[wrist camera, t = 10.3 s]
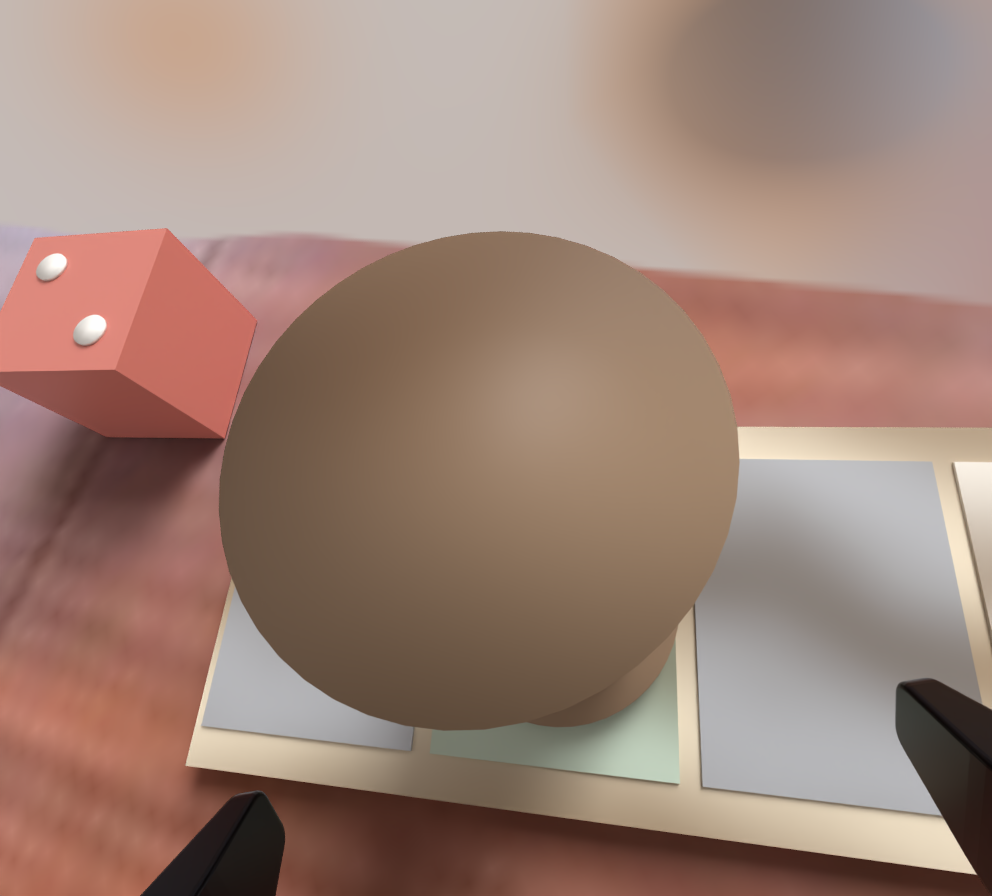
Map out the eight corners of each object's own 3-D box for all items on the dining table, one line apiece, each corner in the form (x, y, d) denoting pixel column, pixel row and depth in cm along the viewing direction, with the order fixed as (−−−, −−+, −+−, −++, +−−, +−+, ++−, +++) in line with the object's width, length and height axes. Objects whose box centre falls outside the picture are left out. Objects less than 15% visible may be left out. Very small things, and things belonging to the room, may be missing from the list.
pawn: (720, 668, 14) (1031, 642, 4) (492, 762, 14) (195, 987, 4) (612, 457, 16) (624, 99, 6) (419, 539, 16) (123, 318, 6)
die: (224, 438, 20) (111, 367, 16) (107, 437, 21) (-32, 370, 17) (257, 320, 22) (164, 225, 18) (147, 324, 23) (32, 236, 19)
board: (1369, 914, 11) (1459, 942, 10) (213, 759, 16) (182, 766, 15) (1189, 447, 15) (1240, 427, 14) (288, 439, 20) (267, 423, 19)
